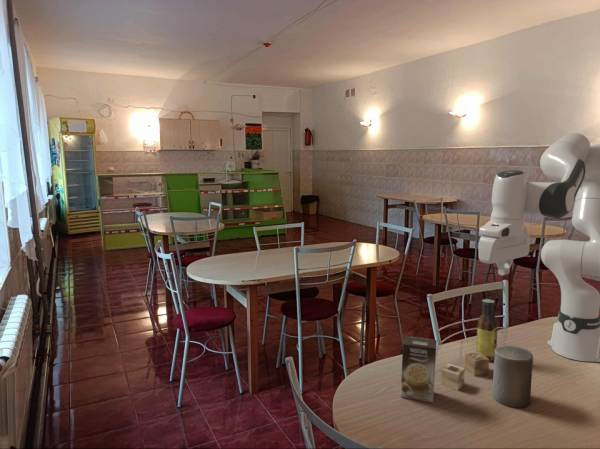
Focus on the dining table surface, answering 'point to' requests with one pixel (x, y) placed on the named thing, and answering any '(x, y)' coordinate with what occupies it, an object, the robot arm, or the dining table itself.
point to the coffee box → (418, 368)
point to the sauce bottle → (487, 330)
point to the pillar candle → (512, 376)
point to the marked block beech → (452, 376)
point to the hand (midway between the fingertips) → (503, 274)
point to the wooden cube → (476, 364)
